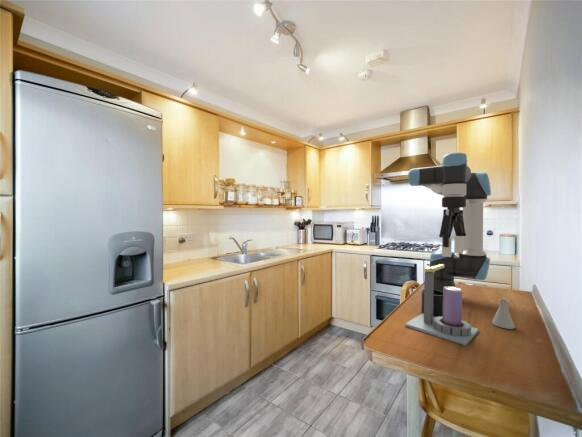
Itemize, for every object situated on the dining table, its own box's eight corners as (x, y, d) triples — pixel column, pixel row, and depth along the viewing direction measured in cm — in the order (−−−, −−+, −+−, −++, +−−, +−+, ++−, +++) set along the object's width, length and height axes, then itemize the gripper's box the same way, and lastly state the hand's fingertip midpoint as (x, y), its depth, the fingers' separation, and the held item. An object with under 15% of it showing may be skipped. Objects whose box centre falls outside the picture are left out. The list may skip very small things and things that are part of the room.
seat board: (421, 315, 112) (422, 267, 112) (478, 331, 97) (479, 276, 97) (405, 326, 101) (405, 272, 101) (465, 345, 86) (466, 283, 86)
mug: (448, 320, 107) (449, 298, 107) (418, 312, 116) (418, 291, 116) (455, 314, 114) (455, 293, 114) (425, 307, 122) (426, 288, 122)
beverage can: (458, 334, 92) (459, 291, 92) (439, 328, 97) (440, 287, 96) (463, 329, 96) (464, 288, 96) (445, 324, 101) (446, 285, 100)
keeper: (422, 271, 102) (422, 268, 102) (437, 266, 113) (437, 263, 113) (432, 273, 100) (432, 269, 100) (446, 267, 110) (446, 265, 110)
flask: (493, 320, 108) (493, 296, 108) (516, 326, 103) (516, 300, 102) (489, 325, 103) (490, 300, 103) (514, 331, 98) (514, 304, 97)
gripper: (453, 198, 107) (452, 250, 107) (429, 195, 90) (428, 256, 91) (475, 197, 102) (474, 252, 102) (454, 193, 85) (453, 259, 85)
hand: (452, 254), depth 96 cm, fingers open, 13 cm apart
